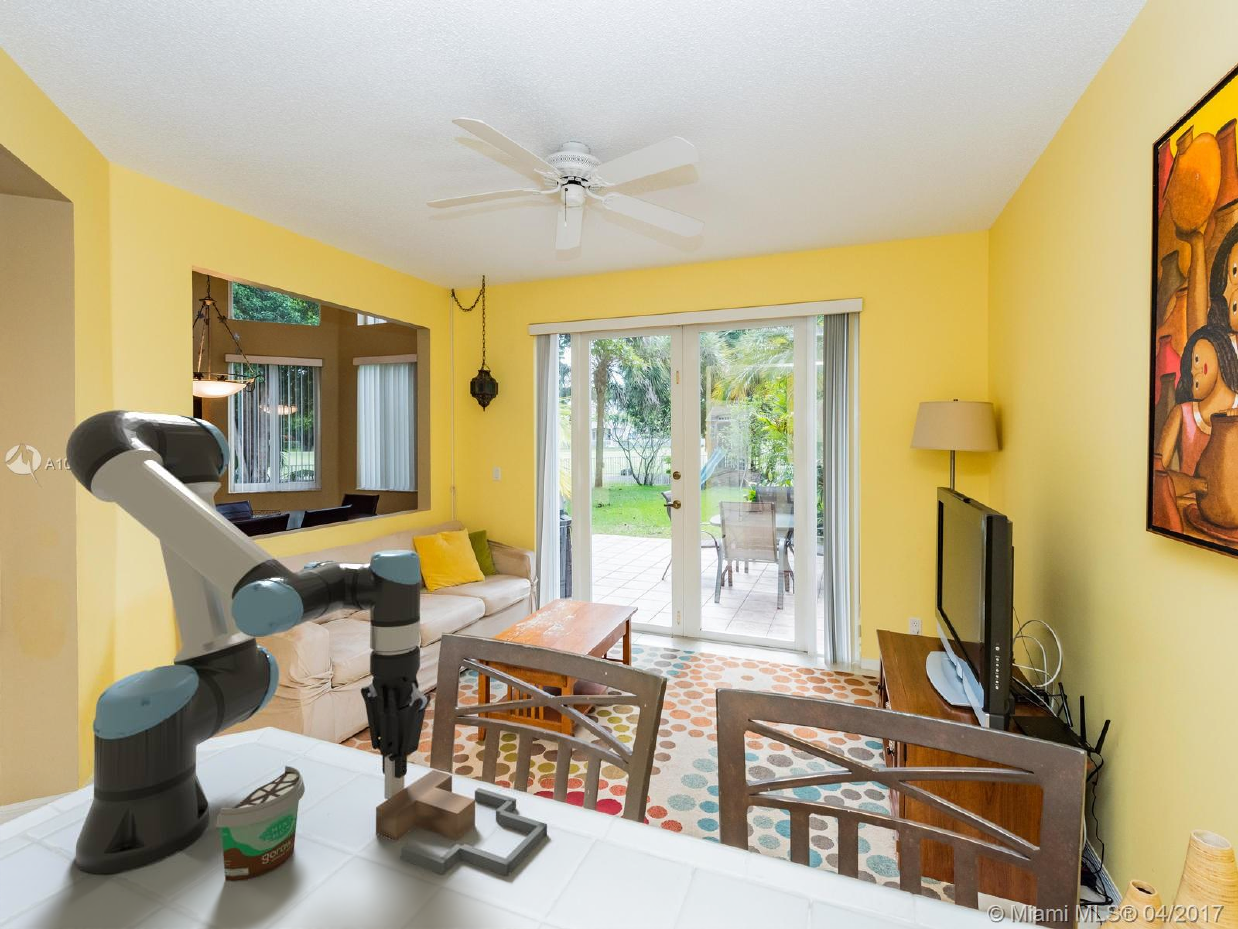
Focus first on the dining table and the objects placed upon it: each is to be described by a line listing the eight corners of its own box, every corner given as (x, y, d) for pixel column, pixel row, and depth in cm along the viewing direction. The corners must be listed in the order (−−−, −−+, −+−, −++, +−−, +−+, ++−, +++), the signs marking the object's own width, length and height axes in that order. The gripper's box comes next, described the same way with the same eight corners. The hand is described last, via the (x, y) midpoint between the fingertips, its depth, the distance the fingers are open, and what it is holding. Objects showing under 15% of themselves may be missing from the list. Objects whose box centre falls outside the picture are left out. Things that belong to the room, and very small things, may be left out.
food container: (256, 896, 74) (257, 817, 74) (215, 888, 75) (216, 811, 76) (323, 836, 86) (324, 768, 86) (287, 831, 88) (288, 764, 88)
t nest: (400, 858, 82) (400, 847, 82) (478, 797, 97) (478, 787, 97) (490, 893, 75) (490, 881, 75) (559, 821, 90) (559, 811, 90)
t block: (375, 834, 87) (376, 807, 87) (433, 793, 98) (433, 769, 98) (438, 857, 82) (438, 829, 82) (491, 812, 93) (491, 787, 93)
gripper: (443, 646, 95) (442, 793, 94) (383, 636, 100) (382, 775, 100) (408, 660, 88) (407, 818, 88) (346, 648, 93) (345, 797, 93)
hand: (394, 795), depth 94 cm, fingers closed
